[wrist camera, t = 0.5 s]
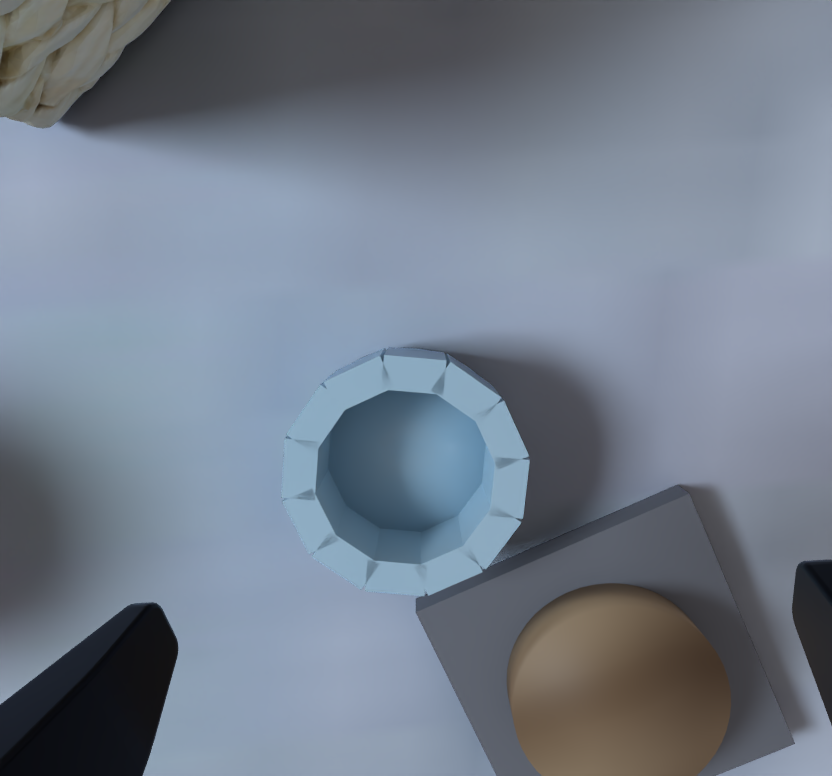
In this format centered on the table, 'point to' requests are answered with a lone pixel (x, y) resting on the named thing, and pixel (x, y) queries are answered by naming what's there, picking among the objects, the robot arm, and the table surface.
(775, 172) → the table surface
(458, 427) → the bowl
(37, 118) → the storage basket
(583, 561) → the mat
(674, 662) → the lid
